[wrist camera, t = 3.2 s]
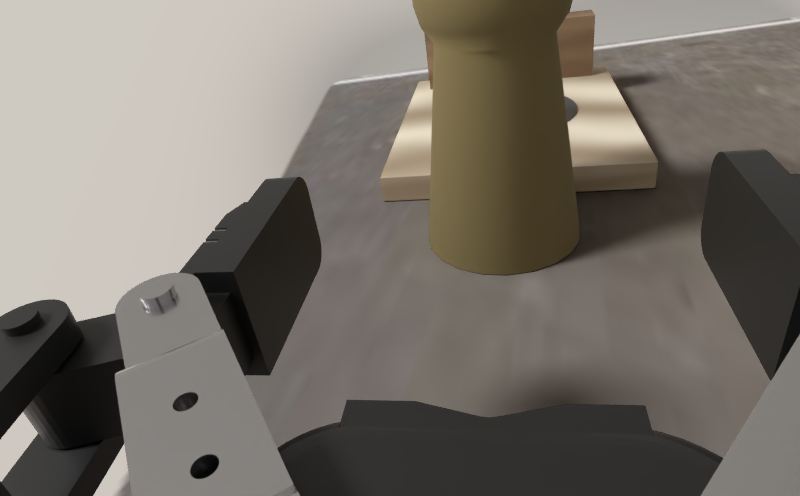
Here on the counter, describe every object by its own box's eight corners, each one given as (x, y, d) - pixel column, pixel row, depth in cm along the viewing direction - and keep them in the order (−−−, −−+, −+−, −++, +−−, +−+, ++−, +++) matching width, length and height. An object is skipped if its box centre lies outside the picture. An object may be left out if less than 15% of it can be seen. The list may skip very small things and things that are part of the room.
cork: (565, 285, 20) (574, -80, 14) (405, 263, 22) (357, -54, 16) (591, 203, 24) (606, -98, 18) (456, 192, 27) (432, -75, 21)
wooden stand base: (655, 187, 24) (668, 79, 22) (383, 201, 27) (367, 103, 24) (603, 83, 37) (607, 6, 34) (420, 99, 39) (412, 27, 37)
